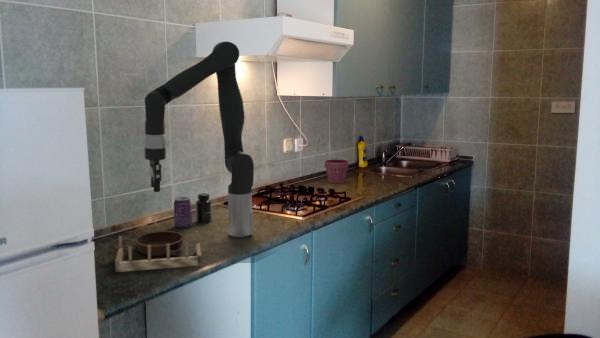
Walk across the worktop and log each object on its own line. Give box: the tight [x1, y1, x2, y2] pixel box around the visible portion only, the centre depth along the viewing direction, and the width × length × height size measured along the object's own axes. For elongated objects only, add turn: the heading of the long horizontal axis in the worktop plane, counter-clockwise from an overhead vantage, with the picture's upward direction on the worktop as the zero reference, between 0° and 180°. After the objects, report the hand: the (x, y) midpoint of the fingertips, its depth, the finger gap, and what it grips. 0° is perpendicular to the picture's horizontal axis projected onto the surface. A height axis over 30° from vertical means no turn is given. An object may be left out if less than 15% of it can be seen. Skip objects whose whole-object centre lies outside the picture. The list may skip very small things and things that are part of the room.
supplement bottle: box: [195, 192, 213, 224], centre depth 229 cm, size 7×7×12 cm
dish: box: [133, 230, 186, 257], centre depth 192 cm, size 18×22×5 cm
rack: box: [114, 230, 203, 273], centre depth 181 cm, size 27×15×8 cm, turn 104°
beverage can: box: [173, 196, 193, 229], centre depth 221 cm, size 7×7×12 cm
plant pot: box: [324, 158, 350, 185], centre depth 313 cm, size 14×14×13 cm
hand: (155, 189), depth 198 cm, fingers open, 8 cm apart
